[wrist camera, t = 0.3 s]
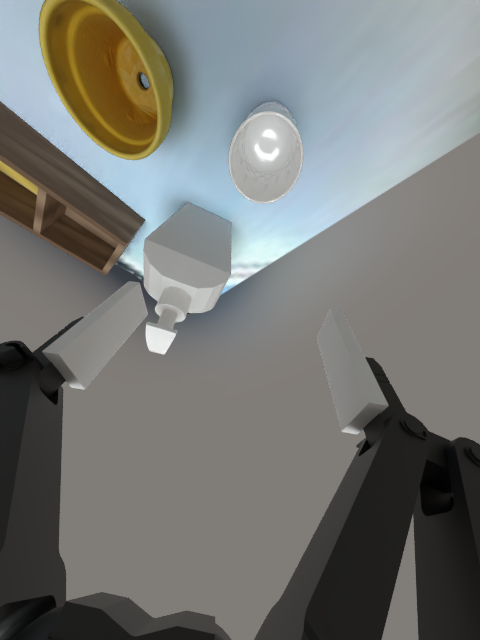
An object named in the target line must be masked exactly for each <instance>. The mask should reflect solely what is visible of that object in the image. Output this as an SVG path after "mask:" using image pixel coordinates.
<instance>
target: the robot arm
mask: <svg viewBox="0 0 480 640" xmlns="http://www.w3.org/2000/svg"><path fill="white" fill-rule="evenodd" d="M147 315H148V312H147V309H146V305H145V301H144V298H143V294H142V290H141V286H140V283H137V282H130V281H129V282H127V283H126V284H125V285H124V286H123V287H121V288H120V289H119V290H118V291H117V292H115V293H114V294H113V295H111V296H110V297H109V298H108V299H106V300H105V301H104V302H103V303H101V304H100V305H99V306H98V307H97V308H95V309H94V310H93V311H91V312H90V313H89V314H88V315H87V316H85V317H81V318H79V319H77V320H75V321H73V322H71V323H70V324H69V325H68V326H66V327H65V328H64V329H62V330H61V331H60V332H58V334H56V335H55V336H53V337H52V338H51V339H49V340H48V341H47V342H46V343H44V344H43V345H42V346H40V347H39V348H38V349H37V350H35V351H34V352H33V353H32V352H31V351H30V350H29V348H28V347H27V346H26V345H25V344H24V343H23V342H21V341H9V342H4V343H2V344H0V640H231V639H230V637H229V636H228V635H227V634H226V632H225V631H224V630H223V629H222V628H221V627H219V626H218V625H217V624H216V623H215V617H213V616H209V615H205V614H200V613H195V612H191V611H183V612H180V613H175V614H171V615H167V616H163V617H159V618H153V617H151V616H150V615H149V614H147V613H146V612H145V611H144V610H143V609H141V608H140V607H139V606H138V605H136V604H135V603H134V602H133V601H132V600H130V599H129V598H126V597H121V596H117V595H112V594H108V593H103V592H101V593H96V594H93V595H89V596H85V597H81V598H77V599H73V600H69V601H66V570H65V565H64V562H63V560H62V558H61V557H60V554H59V515H60V514H59V513H60V482H61V481H60V480H61V448H62V415H63V414H62V413H63V388H62V386H61V385H62V384H63V383H64V382H65V381H66V382H67V383H68V384H69V385H70V386H71V387H73V388H79V389H86V388H87V387H88V386H89V384H90V383H91V382H92V380H93V379H94V378H95V377H96V376H97V375H98V374H99V372H100V371H101V370H102V369H103V368H104V366H105V365H106V364H107V363H108V362H109V360H110V359H111V358H112V357H113V356H114V354H115V353H116V352H117V351H118V350H119V348H120V347H121V346H122V345H123V344H124V342H125V341H126V340H127V339H128V338H129V336H130V335H131V334H132V333H133V332H134V330H135V329H136V328H137V327H138V325H139V324H140V323H141V322H142V321H143V320H144V318H145V317H146V316H147ZM317 342H318V346H319V349H320V353H321V357H322V361H323V364H324V368H325V372H326V376H327V380H328V383H329V387H330V391H331V395H332V398H333V402H334V406H335V410H336V413H337V417H338V421H339V424H340V428H341V432H346V433H352V434H358V433H359V432H360V431H362V430H363V429H364V432H365V435H366V438H365V439H364V440H362V441H361V442H360V443H359V444H358V445H357V446H356V447H358V448H359V449H358V451H357V453H356V455H355V457H354V459H353V461H352V463H351V464H350V466H349V468H348V470H347V472H346V474H345V476H344V478H343V480H342V482H341V484H340V486H339V488H338V489H337V492H336V493H335V495H334V497H333V499H332V501H331V503H330V505H329V507H328V509H327V510H326V512H325V515H324V516H323V518H322V520H321V522H320V524H319V526H318V528H317V530H316V532H315V534H314V535H313V537H312V539H311V541H310V543H309V545H308V547H307V549H306V551H305V553H304V555H303V556H302V558H301V561H300V562H299V564H298V566H297V568H296V570H295V572H294V574H293V576H292V578H291V580H290V581H289V583H288V585H287V587H286V589H285V591H284V593H283V595H282V596H281V598H280V600H279V601H278V602H277V603H276V604H275V605H274V606H273V608H272V609H271V610H270V612H269V614H268V615H267V617H266V619H265V620H264V622H263V624H262V626H261V628H260V630H259V632H258V634H257V635H256V637H255V639H254V640H381V639H382V634H383V631H384V627H385V623H386V619H387V615H388V611H389V607H390V602H391V599H392V594H393V591H394V587H395V583H396V579H397V575H398V571H399V567H400V563H401V559H402V555H403V551H404V546H405V542H406V539H407V535H408V531H409V527H410V523H411V518H412V515H413V516H414V540H415V561H416V562H415V563H416V586H417V611H418V635H419V640H480V445H479V444H478V443H476V442H475V441H473V440H470V439H467V438H462V437H459V438H457V439H455V440H453V441H450V440H447V439H445V438H443V437H441V436H438V435H436V434H434V433H431V432H429V431H428V430H427V428H426V427H425V426H424V425H423V424H422V423H421V422H420V421H419V420H418V419H417V418H415V417H414V416H412V415H410V414H408V413H407V412H406V411H405V409H404V407H403V405H402V404H401V402H400V400H399V398H398V396H397V395H396V393H395V391H394V389H393V387H392V385H391V384H390V382H389V380H388V378H387V377H386V374H385V373H384V371H383V369H382V367H381V366H380V365H379V364H378V363H377V362H376V361H375V360H374V359H373V358H367V357H365V356H364V354H363V352H362V350H361V348H360V346H359V344H358V342H357V340H356V338H355V336H354V334H353V332H352V330H351V328H350V326H349V324H348V322H347V320H346V318H345V316H344V314H343V312H342V310H338V309H331V308H330V309H329V312H328V314H327V316H326V318H325V321H324V323H323V325H322V327H321V330H320V332H319V334H318V336H317Z"/></svg>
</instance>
